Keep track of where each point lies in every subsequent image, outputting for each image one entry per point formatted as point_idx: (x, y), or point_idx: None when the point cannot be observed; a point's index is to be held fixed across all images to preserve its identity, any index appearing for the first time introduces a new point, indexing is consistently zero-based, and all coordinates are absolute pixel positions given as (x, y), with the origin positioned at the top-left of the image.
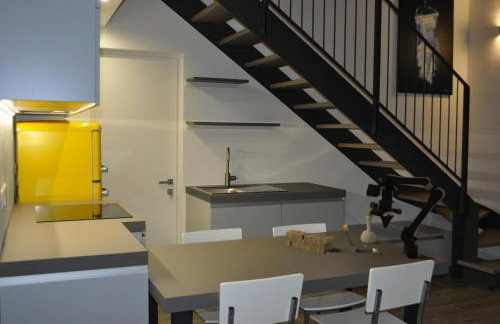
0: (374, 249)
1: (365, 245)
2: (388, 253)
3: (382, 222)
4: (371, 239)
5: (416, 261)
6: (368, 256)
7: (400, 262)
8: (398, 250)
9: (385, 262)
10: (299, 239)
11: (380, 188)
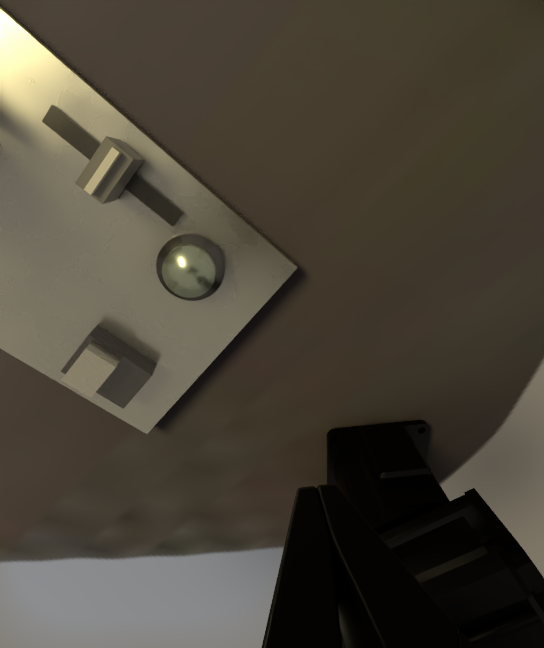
0: (166, 282)
1: (102, 166)
2: (306, 323)
3: (266, 645)
4: None
5: None
6: None
7: (176, 536)
8: (493, 272)
9: (68, 509)
10: None
11: None
